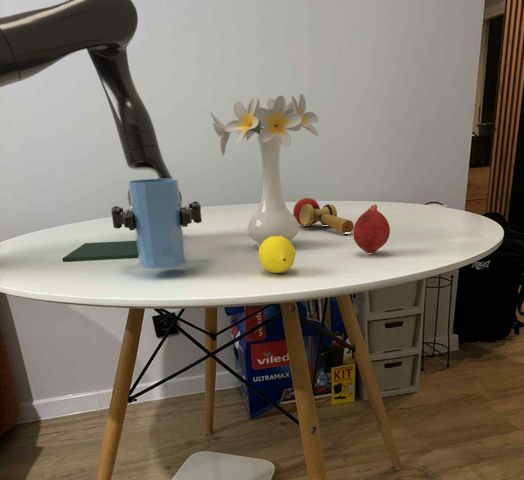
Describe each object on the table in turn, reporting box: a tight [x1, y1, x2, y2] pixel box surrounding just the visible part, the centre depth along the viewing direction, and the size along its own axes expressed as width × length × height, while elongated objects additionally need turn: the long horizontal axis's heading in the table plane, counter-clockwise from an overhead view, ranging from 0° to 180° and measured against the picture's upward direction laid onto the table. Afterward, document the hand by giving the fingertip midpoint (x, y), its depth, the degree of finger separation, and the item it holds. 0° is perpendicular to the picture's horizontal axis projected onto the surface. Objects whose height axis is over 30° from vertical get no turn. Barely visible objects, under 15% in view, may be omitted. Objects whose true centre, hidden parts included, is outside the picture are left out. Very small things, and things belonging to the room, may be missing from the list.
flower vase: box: [209, 93, 319, 249], centre depth 87 cm, size 13×18×25 cm
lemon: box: [257, 236, 296, 274], centre depth 73 cm, size 7×5×5 cm
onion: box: [352, 203, 391, 254], centre depth 81 cm, size 6×6×8 cm
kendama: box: [292, 197, 355, 234], centre depth 106 cm, size 8×6×18 cm
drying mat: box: [62, 240, 139, 262], centre depth 95 cm, size 18×14×1 cm
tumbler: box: [128, 178, 186, 270], centre depth 74 cm, size 7×7×12 cm
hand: (158, 221), depth 71 cm, fingers closed on tumbler, 7 cm apart
